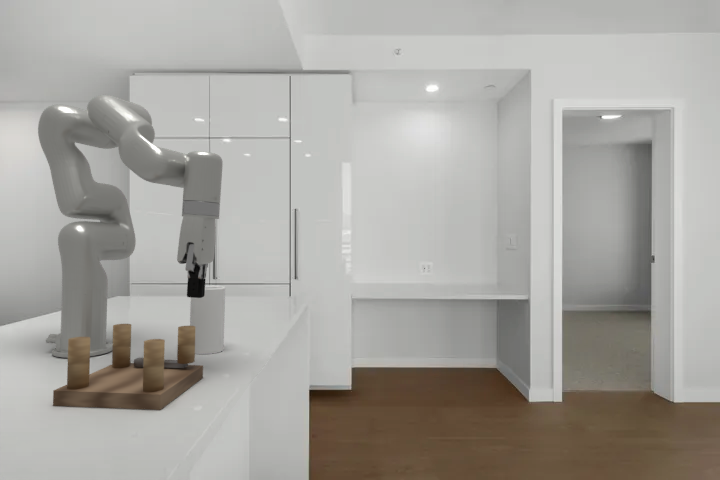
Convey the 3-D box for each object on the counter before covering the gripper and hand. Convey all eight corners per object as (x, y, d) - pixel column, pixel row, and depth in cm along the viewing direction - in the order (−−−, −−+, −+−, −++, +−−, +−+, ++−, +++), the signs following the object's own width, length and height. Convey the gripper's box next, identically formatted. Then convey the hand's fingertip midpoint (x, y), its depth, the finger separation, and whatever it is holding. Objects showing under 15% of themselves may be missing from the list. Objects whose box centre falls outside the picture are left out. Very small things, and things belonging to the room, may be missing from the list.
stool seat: (52, 405, 76) (54, 341, 76) (115, 374, 94) (117, 322, 94) (160, 409, 75) (161, 344, 75) (202, 377, 93) (204, 325, 93)
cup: (204, 356, 111) (205, 289, 111) (182, 351, 115) (183, 286, 115) (230, 349, 118) (232, 287, 118) (208, 345, 122) (210, 284, 122)
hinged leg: (130, 367, 89) (131, 326, 89) (138, 362, 93) (139, 324, 93) (190, 369, 89) (191, 328, 89) (197, 364, 92) (198, 325, 92)
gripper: (195, 211, 105) (190, 291, 105) (169, 207, 90) (163, 301, 91) (228, 213, 105) (223, 293, 106) (207, 210, 90) (201, 303, 91)
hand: (195, 296), depth 98 cm, fingers closed
